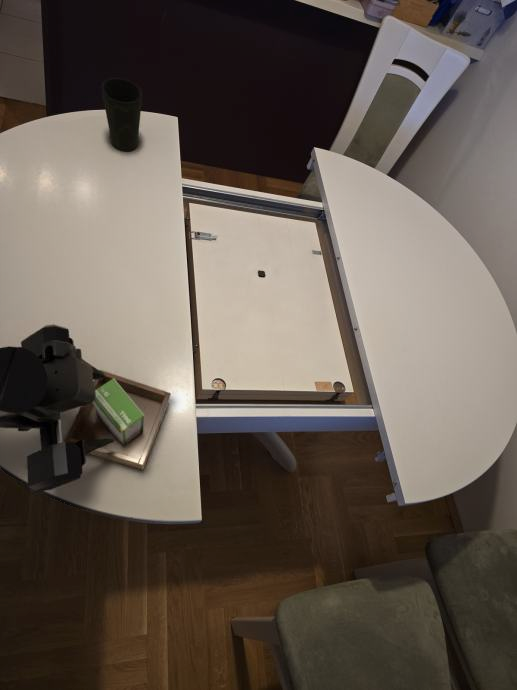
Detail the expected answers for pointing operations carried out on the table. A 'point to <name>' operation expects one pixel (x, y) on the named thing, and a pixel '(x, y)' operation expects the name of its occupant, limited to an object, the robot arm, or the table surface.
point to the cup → (122, 112)
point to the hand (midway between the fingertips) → (107, 408)
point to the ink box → (118, 412)
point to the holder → (95, 429)
